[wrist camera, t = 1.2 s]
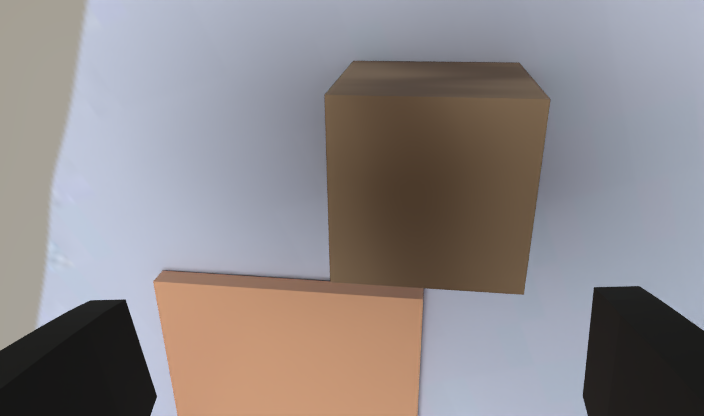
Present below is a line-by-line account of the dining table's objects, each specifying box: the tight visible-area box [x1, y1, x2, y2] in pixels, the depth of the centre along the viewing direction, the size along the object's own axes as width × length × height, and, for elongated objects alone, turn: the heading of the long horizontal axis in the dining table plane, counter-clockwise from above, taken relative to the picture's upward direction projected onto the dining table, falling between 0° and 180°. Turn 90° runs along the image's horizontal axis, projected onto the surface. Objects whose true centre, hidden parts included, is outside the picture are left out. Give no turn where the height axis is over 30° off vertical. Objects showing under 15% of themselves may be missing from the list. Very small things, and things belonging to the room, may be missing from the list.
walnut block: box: [325, 61, 550, 295], centre depth 16 cm, size 5×5×5 cm
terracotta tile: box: [153, 271, 424, 416], centre depth 22 cm, size 10×10×1 cm
